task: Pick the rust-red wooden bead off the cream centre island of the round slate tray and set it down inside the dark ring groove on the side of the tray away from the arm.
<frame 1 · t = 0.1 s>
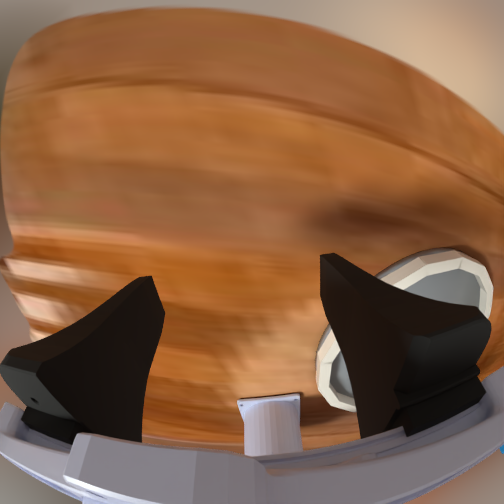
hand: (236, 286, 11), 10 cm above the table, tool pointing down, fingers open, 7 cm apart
groove tray: (409, 338, 27), on the table
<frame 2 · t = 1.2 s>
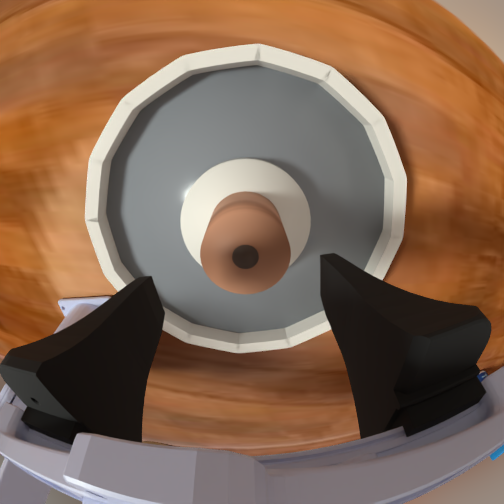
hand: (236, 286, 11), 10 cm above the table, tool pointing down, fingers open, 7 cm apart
bead: (245, 225, 18), point 2 cm above the table, touching groove tray
groove tray: (245, 214, 21), on the table
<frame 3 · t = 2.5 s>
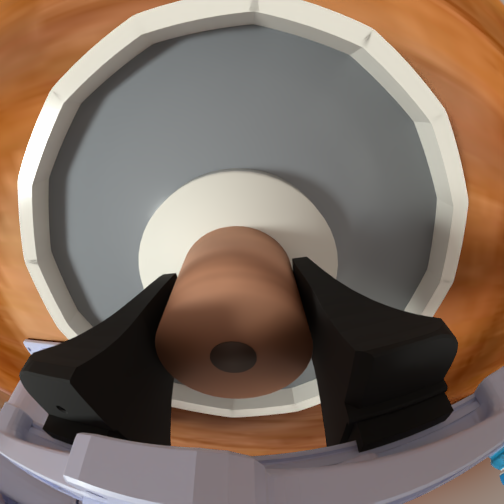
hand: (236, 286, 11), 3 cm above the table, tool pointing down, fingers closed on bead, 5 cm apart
beverage bottle: (485, 404, 30), on the table
bead: (237, 277, 12), point 2 cm above the table, touching gripper, groove tray
groove tray: (238, 252, 14), on the table
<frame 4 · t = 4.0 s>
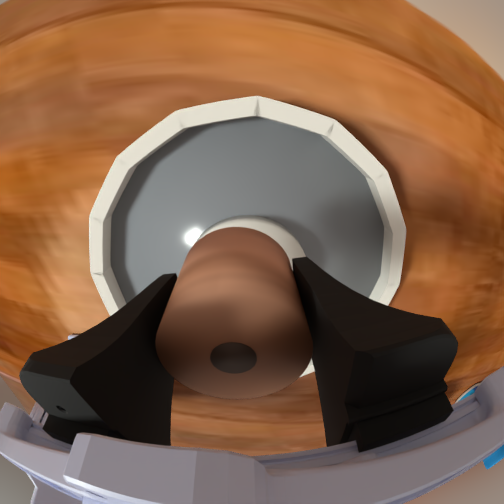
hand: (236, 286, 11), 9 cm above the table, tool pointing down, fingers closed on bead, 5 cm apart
beverage bottle: (467, 393, 37), on the table
bead: (237, 278, 12), point 9 cm above the table, touching gripper
groove tray: (247, 265, 21), on the table
when the fingers open (3 cm above the table, at t = 5.8 s): bead drops 1 cm, resting on groove tray.
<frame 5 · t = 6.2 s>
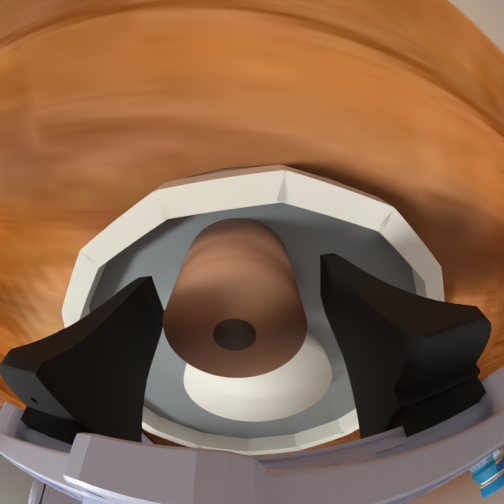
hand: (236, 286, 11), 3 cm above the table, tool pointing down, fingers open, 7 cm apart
beverage bottle: (470, 424, 33), on the table
bead: (237, 266, 13), point 1 cm above the table, touching groove tray
groove tray: (257, 359, 17), on the table
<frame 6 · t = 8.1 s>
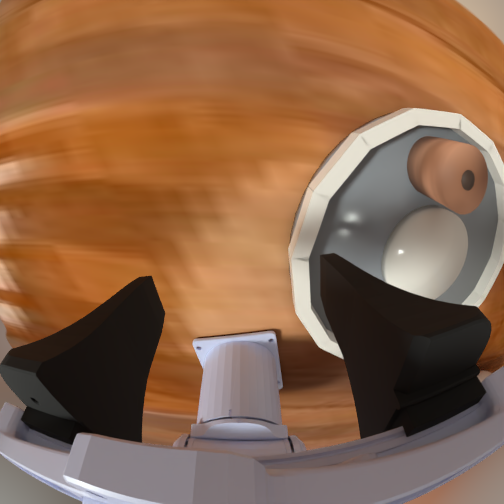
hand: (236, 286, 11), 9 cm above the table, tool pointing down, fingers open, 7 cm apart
bead: (430, 165, 17), point 1 cm above the table, touching groove tray
groove tray: (418, 248, 21), on the table
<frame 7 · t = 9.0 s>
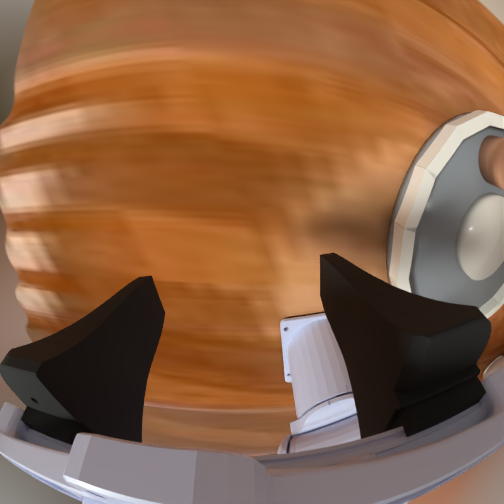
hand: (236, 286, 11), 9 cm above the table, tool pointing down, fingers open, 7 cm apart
lidded jar: (492, 365, 34), on the table
bead: (492, 159, 16), point 1 cm above the table, touching groove tray
groove tray: (478, 230, 20), on the table
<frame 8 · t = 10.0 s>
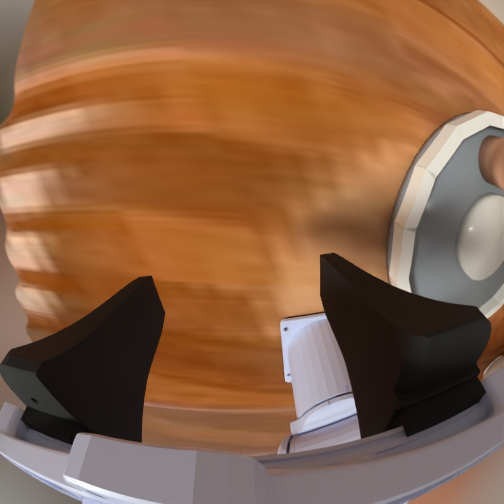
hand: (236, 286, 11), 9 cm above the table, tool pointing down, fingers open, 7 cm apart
lidded jar: (492, 365, 34), on the table
bead: (492, 159, 16), point 1 cm above the table, touching groove tray
groove tray: (478, 230, 20), on the table
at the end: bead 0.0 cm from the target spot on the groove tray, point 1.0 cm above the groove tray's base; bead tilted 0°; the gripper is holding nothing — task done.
